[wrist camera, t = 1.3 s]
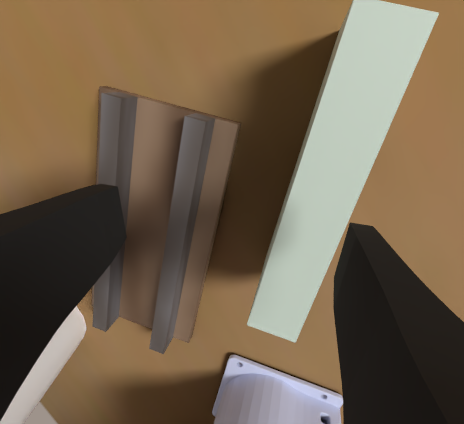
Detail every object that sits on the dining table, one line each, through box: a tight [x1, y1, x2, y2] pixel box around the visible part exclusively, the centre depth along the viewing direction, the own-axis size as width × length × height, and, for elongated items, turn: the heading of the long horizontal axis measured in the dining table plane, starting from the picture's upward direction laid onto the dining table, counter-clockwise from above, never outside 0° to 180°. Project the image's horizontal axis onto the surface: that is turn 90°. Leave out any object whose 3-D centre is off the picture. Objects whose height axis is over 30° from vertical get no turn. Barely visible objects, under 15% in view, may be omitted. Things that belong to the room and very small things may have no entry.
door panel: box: [247, 0, 439, 342], centre depth 15 cm, size 2×14×7 cm, turn 167°
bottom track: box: [92, 86, 241, 354], centre depth 22 cm, size 9×18×3 cm, turn 167°
